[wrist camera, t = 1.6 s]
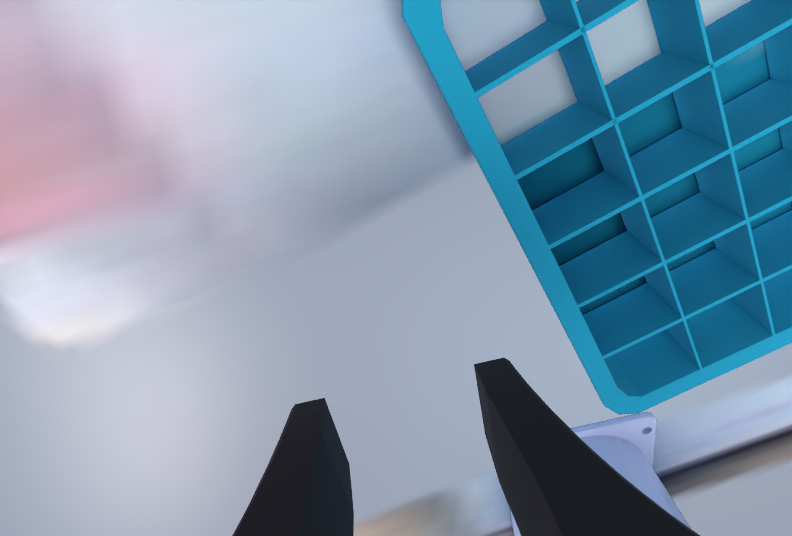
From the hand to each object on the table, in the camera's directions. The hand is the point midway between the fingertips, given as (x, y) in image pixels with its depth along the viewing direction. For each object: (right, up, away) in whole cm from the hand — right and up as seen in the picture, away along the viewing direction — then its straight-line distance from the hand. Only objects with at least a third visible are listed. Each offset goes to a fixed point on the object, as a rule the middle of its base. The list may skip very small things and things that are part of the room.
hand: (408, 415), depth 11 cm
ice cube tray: (+9, +8, +9) cm, 15 cm away
